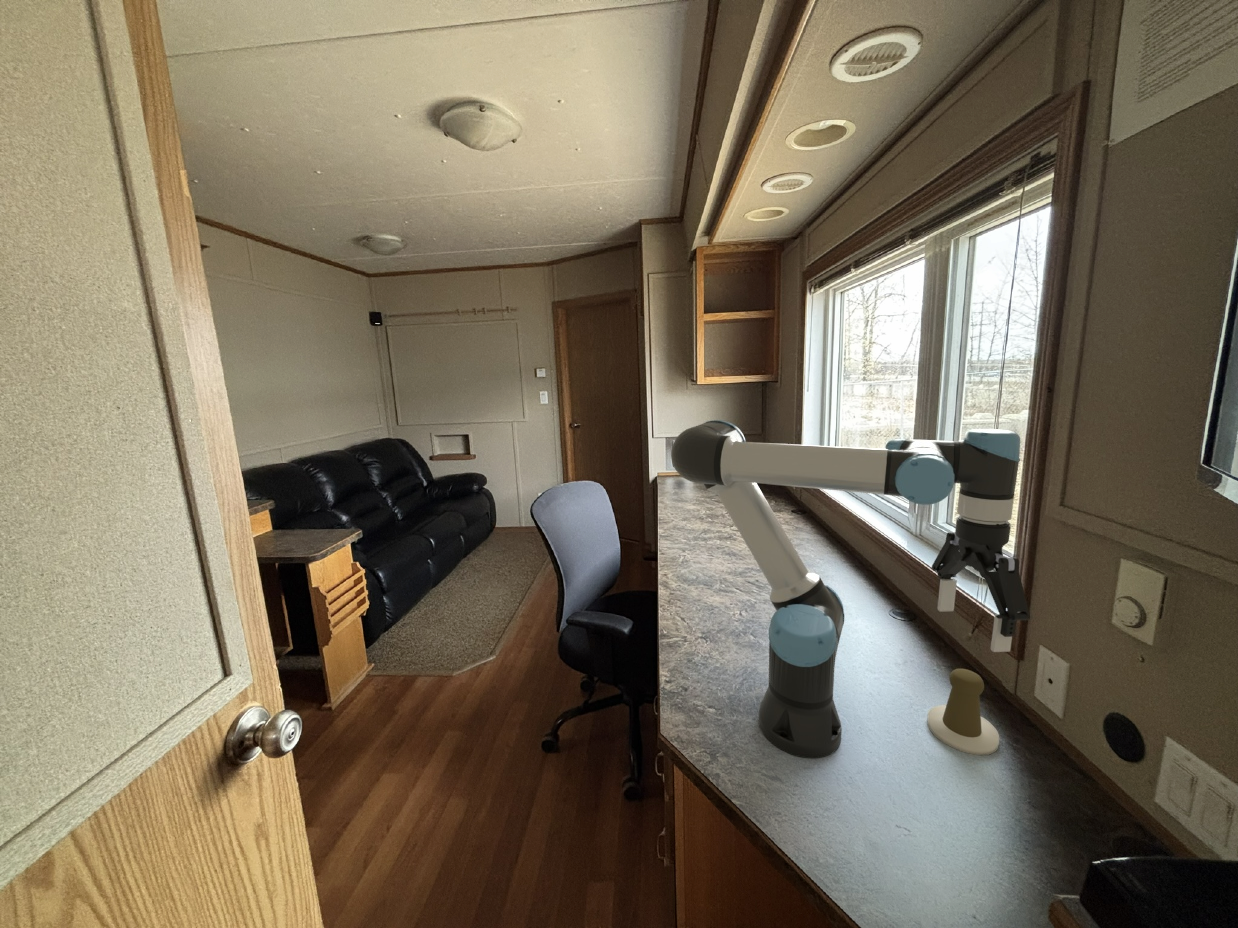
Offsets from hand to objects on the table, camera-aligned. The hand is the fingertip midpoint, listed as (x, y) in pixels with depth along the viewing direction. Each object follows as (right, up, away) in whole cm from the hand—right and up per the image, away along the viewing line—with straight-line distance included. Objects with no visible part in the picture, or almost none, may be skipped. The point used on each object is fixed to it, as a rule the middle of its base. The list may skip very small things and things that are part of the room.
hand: (970, 629), depth 86 cm
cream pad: (+1, -21, +3) cm, 21 cm away
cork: (+1, -20, +3) cm, 20 cm away
